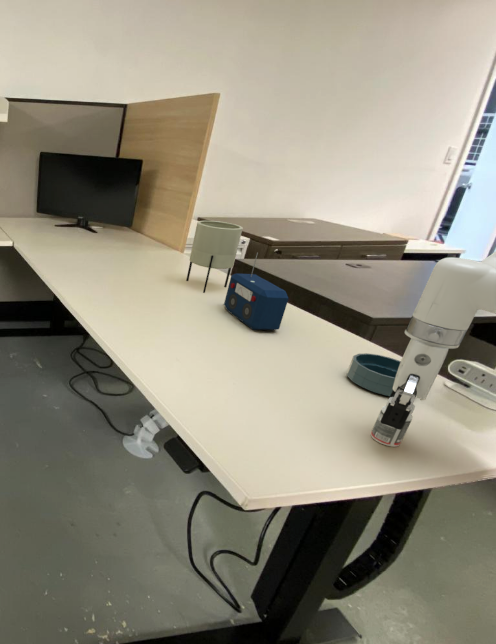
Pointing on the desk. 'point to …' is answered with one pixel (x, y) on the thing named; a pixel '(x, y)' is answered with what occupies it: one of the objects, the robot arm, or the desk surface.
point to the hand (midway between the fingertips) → (393, 415)
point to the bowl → (374, 372)
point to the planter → (215, 246)
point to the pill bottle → (389, 429)
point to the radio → (256, 301)
